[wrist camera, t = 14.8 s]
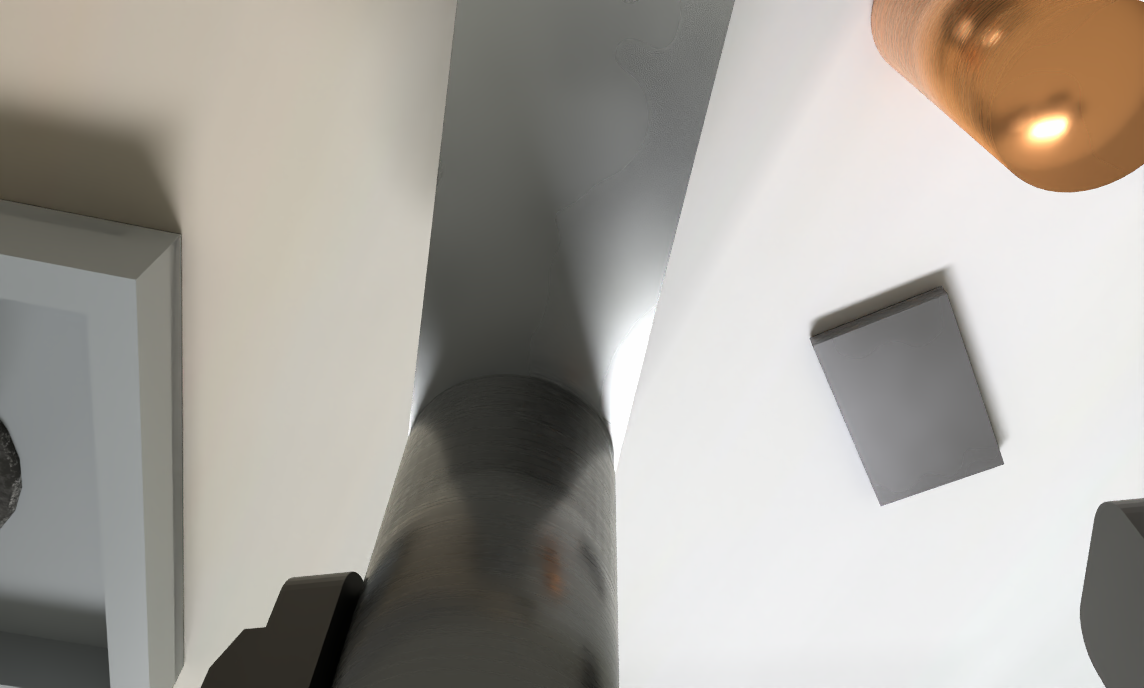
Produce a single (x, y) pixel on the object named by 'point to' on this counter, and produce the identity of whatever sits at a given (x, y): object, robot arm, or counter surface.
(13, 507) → the dark grey turned piece
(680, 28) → the crank
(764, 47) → the counter surface
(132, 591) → the tray
